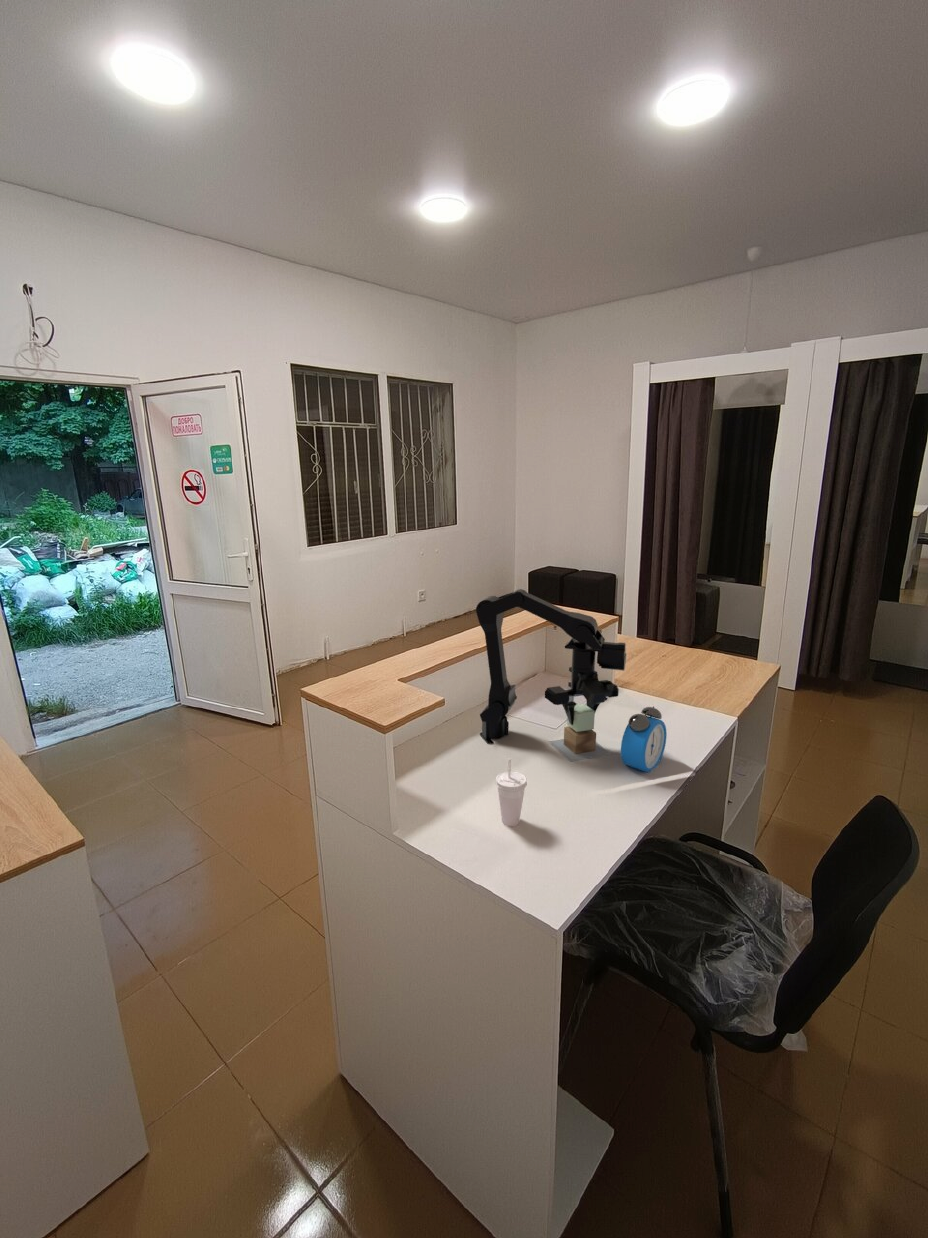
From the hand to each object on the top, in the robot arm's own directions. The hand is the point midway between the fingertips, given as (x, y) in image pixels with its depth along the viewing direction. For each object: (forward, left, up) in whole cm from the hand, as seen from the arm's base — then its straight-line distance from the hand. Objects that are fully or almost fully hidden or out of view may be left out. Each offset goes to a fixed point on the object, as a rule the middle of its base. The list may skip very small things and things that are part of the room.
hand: (580, 722), depth 147 cm
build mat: (0, 0, -8) cm, 8 cm away
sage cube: (0, 0, -1) cm, 1 cm away
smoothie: (-30, -23, -8) cm, 39 cm away
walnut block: (0, 0, -7) cm, 7 cm away
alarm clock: (+10, -13, -8) cm, 18 cm away
